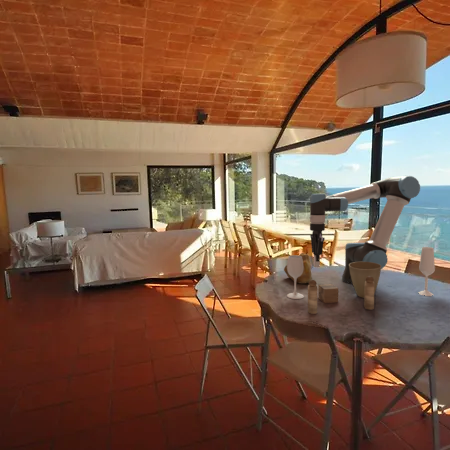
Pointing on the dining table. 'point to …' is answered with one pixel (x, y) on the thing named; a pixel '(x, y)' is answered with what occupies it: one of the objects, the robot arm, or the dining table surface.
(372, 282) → the oak mill
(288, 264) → the wineglass
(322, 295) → the tan wooden cube
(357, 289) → the plant pot
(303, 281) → the rough brown rock
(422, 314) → the dining table surface
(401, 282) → the dining table surface
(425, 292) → the champagne flute
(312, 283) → the oak mill
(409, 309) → the dining table surface
